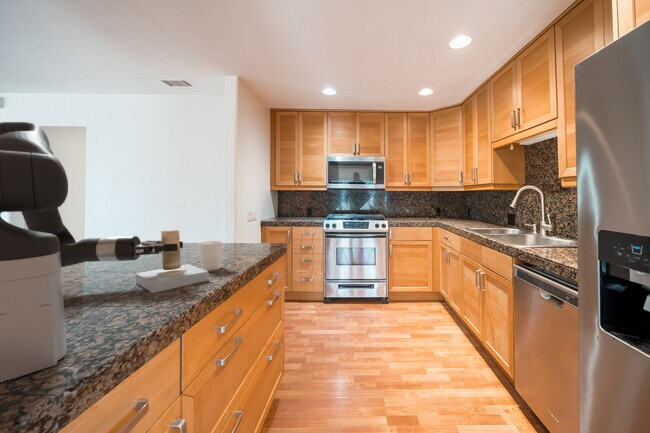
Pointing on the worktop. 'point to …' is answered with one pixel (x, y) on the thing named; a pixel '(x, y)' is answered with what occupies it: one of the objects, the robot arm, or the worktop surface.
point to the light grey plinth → (171, 278)
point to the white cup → (210, 255)
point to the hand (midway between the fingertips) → (179, 246)
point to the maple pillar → (172, 257)
